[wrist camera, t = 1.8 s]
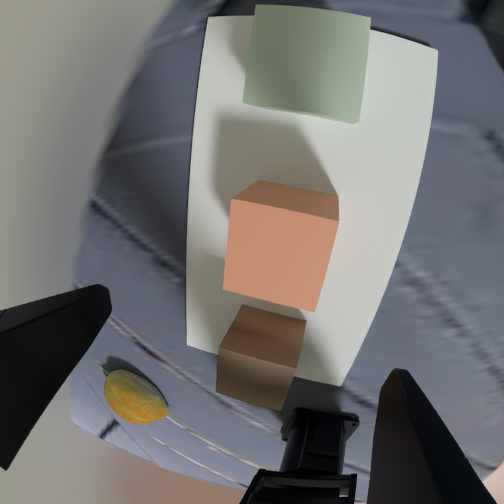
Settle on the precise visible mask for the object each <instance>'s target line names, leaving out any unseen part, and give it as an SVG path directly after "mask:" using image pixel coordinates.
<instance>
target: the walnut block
mask: <svg viewBox="0 0 504 504" xmlns="http://www.w3.org/2000/svg"><path fill="white" fill-rule="evenodd" d="M306 323H307V321H306V320H301V319H297V318H293V317H289V316H285V315H281V314H277V313H273V312H269V311H265V310H262V309H258V308H254V307H250V306H247V305H243V304H242V306H241V308H240V310H239V311H238V313H237V315H236V317H235V319H234V320H233V322H232V324H231V326H230V328H229V329H228V331H227V333H226V335H225V337H224V338H223V340H222V342H221V344H220V346H219V348H218V363H217V380H216V392H217V393H220V394H223V395H226V396H229V397H232V398H235V399H238V400H242V401H245V402H249V403H252V404H256V405H259V406H263V407H267V408H270V409H274V410H278V411H281V410H282V407H283V404H284V402H285V399H286V396H287V394H288V391H289V388H290V386H291V383H292V380H293V377H294V374H295V372H296V369H297V364H298V360H299V355H300V351H301V346H302V342H303V337H304V332H305V328H306Z"/></svg>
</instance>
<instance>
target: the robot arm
mask: <svg viewBox="0 0 504 504" xmlns="http://www.w3.org/2000/svg"><path fill="white" fill-rule="evenodd" d="M111 311H112V305H111V299H110V293H109V290H108V288H107V287H105V286H102V285H100V284H95V285H91V286H88V287H84V288H80V289H76V290H73V291H69V292H66V293H62V294H58V295H55V296H51V297H47V298H44V299H40V300H36V301H33V302H29V303H26V304H22V305H19V306H15V307H11V308H8V309H4V310H0V467H1V468H3V469H4V470H5V471H6V470H7V469H8V468H9V466H10V465H11V463H12V461H13V460H14V458H15V456H16V455H17V453H18V451H19V450H20V448H21V446H22V445H23V443H24V441H25V440H26V438H27V437H28V435H29V433H30V431H31V430H32V429H33V427H34V425H35V424H36V422H37V421H38V419H39V418H40V416H41V415H42V413H43V412H44V410H45V409H46V407H47V406H48V404H49V403H50V401H51V400H52V399H53V397H54V396H55V394H56V393H57V391H58V390H59V389H60V387H61V386H62V384H63V383H64V382H65V380H66V379H67V377H68V376H69V375H70V373H71V372H72V370H73V369H74V368H75V366H76V365H77V364H78V362H79V361H80V360H81V358H82V357H83V356H84V354H85V353H86V352H87V350H88V349H89V347H90V346H91V344H92V343H93V341H94V340H95V338H96V336H97V335H98V333H99V332H100V330H101V328H102V327H103V325H104V324H105V322H106V320H107V319H108V317H109V316H110V314H111ZM359 423H360V421H359V420H358V419H354V418H348V417H342V416H336V415H330V414H325V413H320V412H315V411H310V410H305V409H301V408H296V409H295V410H294V411H293V414H292V416H291V418H290V420H289V422H288V425H287V427H286V429H285V431H284V433H283V435H282V440H283V441H285V442H287V445H286V449H285V452H284V456H283V460H282V463H281V467H280V470H279V472H278V471H270V470H266V469H261V468H260V469H259V470H258V472H257V474H256V475H255V476H254V478H253V480H252V482H251V484H250V485H249V487H248V489H247V491H246V493H245V495H244V497H243V498H242V500H241V502H240V503H239V504H354V500H355V492H356V482H357V473H356V474H351V475H342V471H343V463H344V455H345V446H346V441H347V440H348V439H349V437H350V436H351V435H352V434H353V432H354V431H355V430H356V429H357V427H358V426H359ZM340 495H347V497H339V496H340ZM367 504H497V503H496V501H495V500H494V498H493V497H492V496H491V494H490V493H489V492H488V490H487V489H486V487H485V486H484V484H483V483H482V482H481V480H480V479H479V477H478V476H477V474H476V472H475V471H474V469H473V468H472V466H471V464H470V463H469V461H468V460H467V458H465V455H464V453H463V452H462V450H461V448H460V447H459V445H458V444H457V442H456V441H455V439H454V437H453V436H452V434H451V433H450V431H449V430H448V428H447V427H446V425H445V424H444V422H443V421H442V419H441V418H440V416H439V415H438V413H437V412H436V410H435V409H434V407H433V406H432V404H431V403H430V401H429V400H428V398H427V397H426V396H425V394H424V393H423V391H422V390H421V388H420V387H419V386H418V384H417V383H416V381H415V380H414V378H413V377H412V376H411V374H410V373H409V372H408V371H407V370H405V369H399V368H395V369H393V370H392V371H391V373H390V375H389V376H388V378H387V379H386V381H385V382H384V384H383V386H382V388H381V390H380V396H379V404H378V411H377V418H376V424H375V430H374V437H373V448H372V461H371V472H370V481H369V489H368V497H367Z"/></svg>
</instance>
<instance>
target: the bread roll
mask: <svg viewBox="0 0 504 504" xmlns="http://www.w3.org/2000/svg"><path fill="white" fill-rule="evenodd" d="M104 395H105V398H106V400H107V402H108V404H109V406H110V407H111V408H112V410H113V411H114V412H115V413H116V414H117V415H119V416H120V417H121V418H123V419H124V420H126V421H128V422H131V423H135V424H149V423H152V422H153V421H155V420H160V419H163V418H164V417H166V416H167V414H168V411H169V408H168V405H167V403H166V401H165V399H164V398H163V396H162V395H161V393H160V392H159V390H158V389H157V388H156V387H155V386H153V385H152V384H151V383H150V382H148V381H147V380H146V379H144V378H142V377H141V376H138V375H136V374H134V373H132V372H129V371H127V370H123V369H119V370H115V371H112V372H111V373H110V374H109V375H108V376H107V378H106V380H105V383H104Z"/></svg>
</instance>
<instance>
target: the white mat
mask: <svg viewBox="0 0 504 504" xmlns="http://www.w3.org/2000/svg"><path fill="white" fill-rule="evenodd" d="M253 20H254V16H218V17H208V22H207V28H206V34H205V41H204V47H203V54H202V61H201V68H200V76H199V84H198V92H197V101H196V110H195V120H194V130H193V141H192V153H191V167H190V182H189V200H188V223H187V260H186V318H187V345H189V346H192V347H195V348H198V349H201V350H204V351H207V352H210V353H213V354H216V355H218V348H219V346H220V344H221V342H222V340H223V338H224V337H225V335H226V333H227V331H228V329H229V328H230V326H231V324H232V322H233V320H234V319H235V317H236V315H237V313H238V311H239V310H240V308H241V306H242V304H243V305H247V306H250V307H254V308H258V309H262V310H265V311H269V312H273V313H277V314H281V315H285V316H289V317H293V318H297V319H301V320H306V321H307V323H306V328H305V332H304V337H303V342H302V346H301V351H300V355H299V360H298V364H297V369H296V372H295V374H294V376H295V377H299V378H303V379H308V380H312V381H317V382H321V383H326V384H331V385H336V386H341V385H342V383H343V381H344V379H345V377H346V375H347V373H348V371H349V369H350V367H351V365H352V363H353V361H354V359H355V357H356V355H357V353H358V351H359V349H360V347H361V345H362V343H363V341H364V339H365V336H366V334H367V332H368V330H369V327H370V325H371V323H372V321H373V318H374V316H375V314H376V311H377V309H378V306H379V304H380V302H381V299H382V297H383V294H384V292H385V289H386V286H387V284H388V281H389V278H390V276H391V273H392V270H393V267H394V265H395V262H396V259H397V256H398V253H399V250H400V247H401V244H402V241H403V238H404V234H405V231H406V228H407V225H408V221H409V218H410V214H411V211H412V207H413V203H414V200H415V196H416V192H417V188H418V184H419V180H420V175H421V171H422V166H423V162H424V157H425V152H426V147H427V142H428V136H429V130H430V124H431V117H432V110H433V103H434V94H435V85H436V74H437V59H438V50H435V49H433V48H430V47H427V46H425V45H422V44H419V43H416V42H413V41H410V40H407V39H403V38H400V37H397V36H393V35H389V34H386V33H382V32H378V31H374V30H370V37H369V48H368V58H367V67H366V76H365V84H364V92H363V99H362V106H361V112H360V119H359V122H357V123H354V124H348V123H343V122H339V121H334V120H329V119H324V118H318V117H313V116H307V115H301V114H295V113H288V112H281V111H274V110H267V109H264V108H260V107H256V106H252V105H249V104H245V103H242V100H243V92H244V84H245V77H246V69H247V62H248V55H249V48H250V41H251V34H252V27H253ZM258 180H262V181H267V182H273V183H278V184H283V185H288V186H293V187H298V188H303V189H308V190H312V191H317V192H321V193H326V194H330V195H335V196H339V225H338V229H337V233H336V237H335V241H334V245H333V249H332V253H331V257H330V261H329V264H328V268H327V272H326V275H325V279H324V283H323V286H322V290H321V293H320V297H319V300H318V303H317V307H316V310H315V313H314V312H310V311H306V310H302V309H298V308H294V307H289V306H285V305H281V304H277V303H273V302H270V301H266V300H262V299H258V298H254V297H250V296H246V295H243V294H239V293H235V292H231V291H228V290H224V289H223V282H224V270H225V259H226V247H227V237H228V226H229V216H230V206H231V198H233V197H234V196H236V195H237V194H239V193H240V192H241V191H243V190H244V189H246V188H247V187H249V186H250V185H252V184H253V183H255V182H256V181H258Z"/></svg>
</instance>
